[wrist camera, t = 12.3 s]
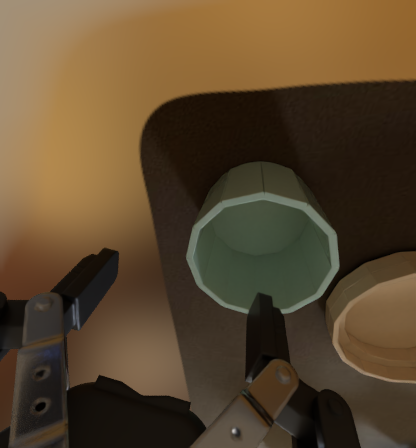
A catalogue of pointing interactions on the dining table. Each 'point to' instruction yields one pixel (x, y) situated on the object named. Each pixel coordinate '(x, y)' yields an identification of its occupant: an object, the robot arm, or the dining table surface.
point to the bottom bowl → (377, 318)
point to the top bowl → (262, 240)
